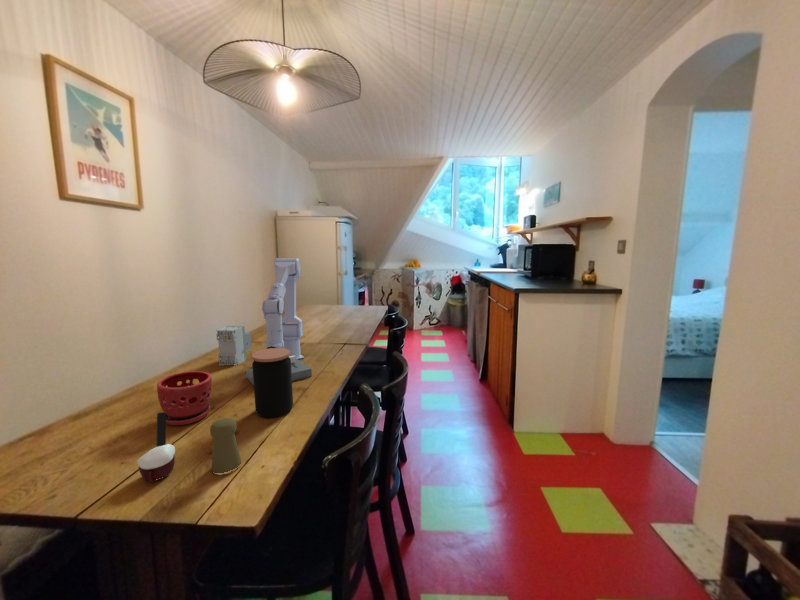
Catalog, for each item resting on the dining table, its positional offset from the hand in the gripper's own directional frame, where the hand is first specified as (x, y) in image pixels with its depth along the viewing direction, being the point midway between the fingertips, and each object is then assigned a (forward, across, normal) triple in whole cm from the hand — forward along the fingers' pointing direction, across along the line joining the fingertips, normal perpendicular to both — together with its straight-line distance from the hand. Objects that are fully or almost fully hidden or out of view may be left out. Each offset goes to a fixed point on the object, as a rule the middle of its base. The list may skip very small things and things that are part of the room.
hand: (276, 364), depth 129 cm
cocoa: (+4, +42, -39) cm, 58 cm away
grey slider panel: (+4, +2, 0) cm, 5 cm away
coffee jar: (+4, +28, -10) cm, 30 cm away
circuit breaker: (+4, -29, -8) cm, 30 cm away
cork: (+4, +48, -27) cm, 56 cm away
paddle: (+1, -1, +6) cm, 6 cm away
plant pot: (+4, +18, -31) cm, 36 cm away
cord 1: (+4, -9, -6) cm, 11 cm away
